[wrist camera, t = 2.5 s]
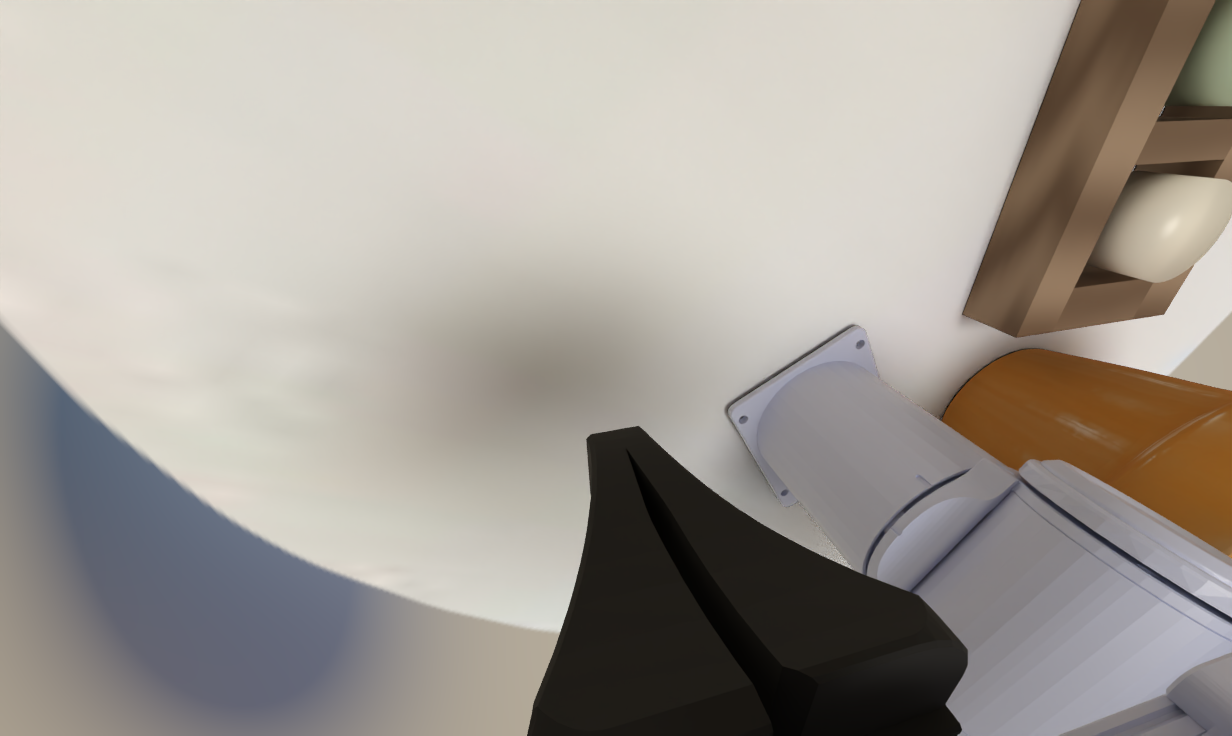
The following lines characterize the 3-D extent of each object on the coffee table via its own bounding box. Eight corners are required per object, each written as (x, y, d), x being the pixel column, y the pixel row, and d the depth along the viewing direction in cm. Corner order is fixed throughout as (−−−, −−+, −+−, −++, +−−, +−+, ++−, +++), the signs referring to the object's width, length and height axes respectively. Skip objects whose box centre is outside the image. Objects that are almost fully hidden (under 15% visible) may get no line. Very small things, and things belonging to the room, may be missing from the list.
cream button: (1121, 260, 24) (1194, 277, 22) (1056, 268, 23) (1124, 287, 21) (1170, 168, 22) (1256, 176, 20) (1099, 173, 21) (1181, 182, 19)
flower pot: (866, 419, 28) (1121, 626, 17) (1080, 253, 26) (1534, 366, 15) (932, 519, 35) (1139, 710, 24) (1102, 397, 33) (1416, 545, 22)
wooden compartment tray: (1100, 295, 28) (1163, 314, 25) (962, 314, 25) (1016, 337, 23) (1459, -386, 16) (1648, -479, 13) (1253, -454, 14) (1432, -582, 11)
